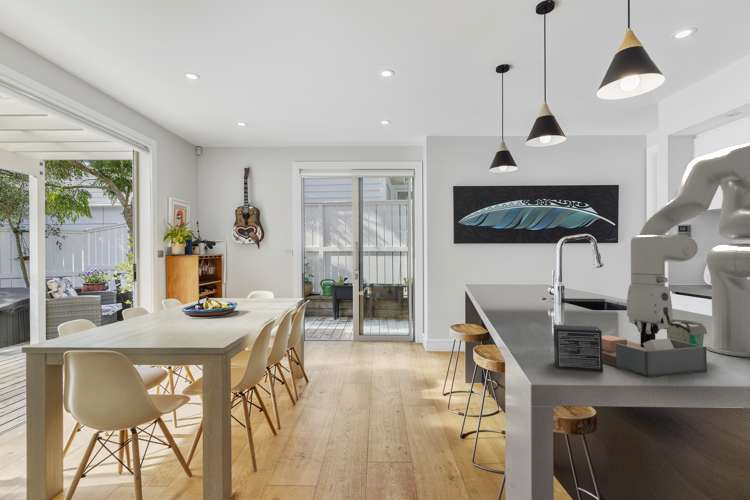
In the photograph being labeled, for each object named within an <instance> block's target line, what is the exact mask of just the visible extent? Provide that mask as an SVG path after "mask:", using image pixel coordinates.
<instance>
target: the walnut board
mask: <svg viewBox="0 0 750 500" xmlns="http://www.w3.org/2000/svg"><path fill="white" fill-rule="evenodd" d="M627 346H630V347H633V348H637V349H641V350H644V351H646V349H645V348H643V347H641V343H637V342H634V341H630V340H627ZM602 361H603V364H604V363H605V364H608V365H610V366H613V367H616V351H614V352H610V351H606V350H603V349H602Z"/></svg>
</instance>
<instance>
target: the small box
mask: <svg viewBox="0 0 750 500" xmlns="http://www.w3.org/2000/svg"><path fill="white" fill-rule="evenodd" d="M602 334H603V331H602V330H601V329H600V328H599V327H597V326H592V325H572V324H571V325H569V324H568V325H567V324H566V325H565V324H553V350H554V351H553V353H554V355H553V356H554V358H553V359H554V361H553V362H554V364H555V366H556V368H557V369H559V370H560V369H561V370H573V371H574V370H575V371H582V372H583V371H586V372H600V373H603V372H604V366H603V365H604V362H603V361H602V336H603V335H602Z"/></svg>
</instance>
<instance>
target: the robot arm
mask: <svg viewBox="0 0 750 500" xmlns="http://www.w3.org/2000/svg"><path fill="white" fill-rule="evenodd" d="M719 187H720V189H721V191H722V200H721V201H722V203H721V207H720V208H721V209H720V213H719V220H718V221H719V223H718V231H719V234H720V236H721V237H723V238H724V239H727V240H731V241H732V240H734V241H749V240H750V142H749V143H745V144H741V145H740V144H739V145H736V146H731V147H727V148H724V149H720V150H718V151H715V152H713V153H710V154H705V155H703V156H702V155H701V156H700V157H697V158H694V159H693V160H691V162H690V163H689V164H688V165H687V168H686V170H685V171H684V174H683V175H682V178H681V181H680V182H679V184H678V186H677V188H676V190H675V192H674V195H673V197H672V199H671V200H670V201H669V202H668V203H666V204H665V205H664V206H663V207H661V208H660V209H659V210H658V211H656V212H655V213H654V214H653V215H652V216H651V217H649V218H648V219H647V221H646V222H645V223H644V225H643V226H642V228H641V230H640V232H639V235H636V236H633V237H632V238H631V240H630V284H629V285H628V288H627V289H628V290H627V297H626V315H627V317H628V321H629V323H631V324H632V325H635V326H636V328H637V331H638V333H640V335H639V336H640V344H641V347H643V348H645V347H644V345H643V343H645V342H647V341H650V340H656V334H657V335H658V333H659V331H661V330H667V329H668V328H669V326H668V323H671V322H672V320H673V319H674V318H673V317H674V316H673V315H674V314H673V306H672V305H673V303H672V302H673V301H672V297H671V293H670V289H669V286H666V283H668V282H669V278H668V277H666V275H665V273H666V271H665V270H666V268H665V267H666V263H682V262H687V261H690V260H692V259H694V257H695V256H696V255H697V252H698V249H699V248H698V244H697V242H696V240H695V239H694V238H692V236H689V235H685V234H667V233H668V232H669V231H670V230H672V229H673V228H675V227H676V226H678V225H680V224H682V223H684V222H686V221H689V220H691V219H694V218H697V217H698V216H700V215H703V214H704V213H706V211H708V210H709V209H710V206H711V205H712V201H713V199H714V197H715V194H716V193H717V190H718V188H719ZM706 265H707V268H708V271H709V277H710V283H711V285H710V286H711V326H712V327H711V328H712V329H711V331H712V339H711V340H712V342H708V343H706V344H705V347H706V350H708V351H710V352H713V353H717V354H721V355H726V356H731V357H732V356H733V357H740V358H750V279H748V278H750V243H725V244H720V245H716V246H714V247H713V248H711V249H710V250H709V251H708V252H707V255H706Z"/></svg>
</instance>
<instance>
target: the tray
mask: <svg viewBox="0 0 750 500" xmlns="http://www.w3.org/2000/svg"><path fill="white" fill-rule="evenodd" d="M670 341H671V343H672V345H673V347H674V349H667V350H656V351H644V350H641V349H637V348H633V347H630V346H626V345H623V344H619V343H617V344H616V366H615V367H616V368H620V369H622V370H625V371H628V372H631V373H634V374H635V375H639V376H642V377H645V378H647V379H648V378H656V377H657V378H659V377H667V376H676V375H687V374H694V373H703V372H704V373H705V372H707V371H708V370H707V368H708V367H707V365H708V364H707V358H708V357H707V349H706V346H704V345H703V346H699V345H695V344H690V343H686V342H682V341H677V340H673V339H670Z"/></svg>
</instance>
